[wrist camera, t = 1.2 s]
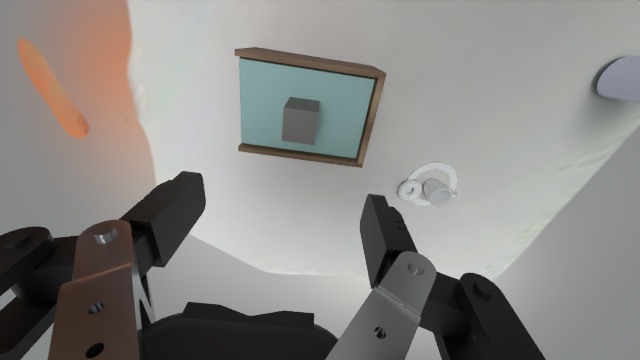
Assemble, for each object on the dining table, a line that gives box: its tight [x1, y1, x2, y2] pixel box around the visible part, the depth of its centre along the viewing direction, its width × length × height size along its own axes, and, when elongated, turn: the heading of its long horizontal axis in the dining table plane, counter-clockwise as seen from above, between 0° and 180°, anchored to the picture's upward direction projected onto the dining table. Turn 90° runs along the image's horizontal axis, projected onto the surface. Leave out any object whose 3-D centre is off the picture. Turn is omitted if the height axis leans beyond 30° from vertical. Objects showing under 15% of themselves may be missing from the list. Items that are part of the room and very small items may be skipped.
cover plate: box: [239, 58, 375, 158], centre depth 23 cm, size 8×13×5 cm, turn 82°
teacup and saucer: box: [398, 163, 457, 207], centre depth 35 cm, size 9×8×4 cm
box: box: [235, 47, 386, 168], centre depth 27 cm, size 10×14×7 cm
